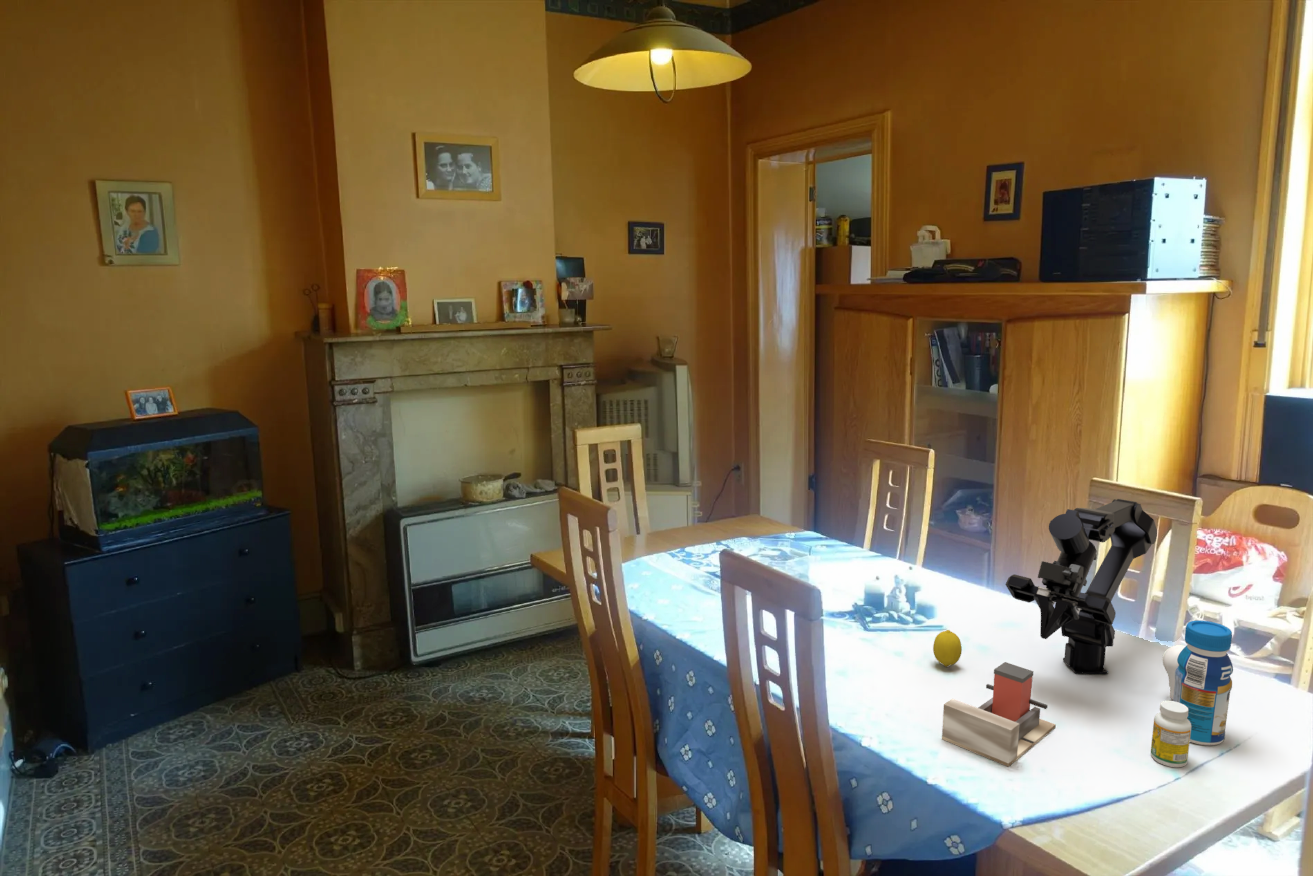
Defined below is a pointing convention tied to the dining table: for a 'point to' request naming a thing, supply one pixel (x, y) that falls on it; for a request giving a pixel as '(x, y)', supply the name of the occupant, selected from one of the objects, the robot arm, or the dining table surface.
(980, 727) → the beige base board
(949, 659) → the lemon
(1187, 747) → the supplement bottle
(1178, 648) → the lightbulb
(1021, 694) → the red plug
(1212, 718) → the beverage bottle
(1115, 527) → the robot arm
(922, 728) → the dining table surface
